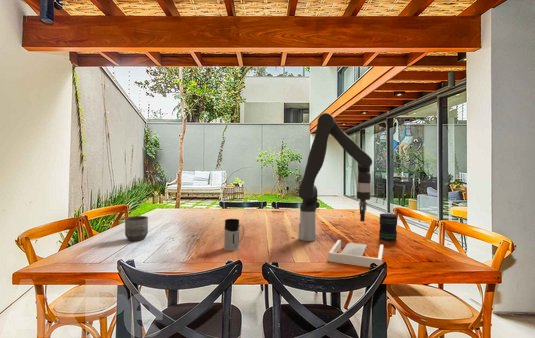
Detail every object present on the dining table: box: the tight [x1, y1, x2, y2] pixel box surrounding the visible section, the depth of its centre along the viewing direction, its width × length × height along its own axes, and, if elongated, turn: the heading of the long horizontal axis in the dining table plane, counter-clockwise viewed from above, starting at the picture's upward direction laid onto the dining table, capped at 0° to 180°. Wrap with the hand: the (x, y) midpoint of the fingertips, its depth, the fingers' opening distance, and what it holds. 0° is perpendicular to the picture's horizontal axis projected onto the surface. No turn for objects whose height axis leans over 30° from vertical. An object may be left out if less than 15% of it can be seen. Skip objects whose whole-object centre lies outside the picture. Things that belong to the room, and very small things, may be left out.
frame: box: [327, 239, 384, 268], centre depth 145 cm, size 23×26×4 cm
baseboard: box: [340, 240, 368, 256], centre depth 152 cm, size 31×3×12 cm
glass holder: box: [223, 218, 245, 252], centre depth 155 cm, size 9×14×15 cm, turn 45°
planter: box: [124, 215, 149, 242], centre depth 172 cm, size 12×12×13 cm
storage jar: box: [378, 213, 398, 243], centre depth 178 cm, size 10×10×15 cm
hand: (362, 221), depth 167 cm, fingers closed
